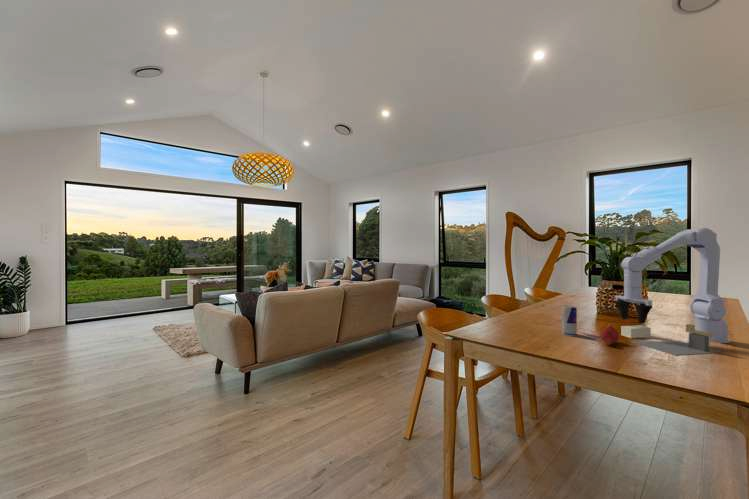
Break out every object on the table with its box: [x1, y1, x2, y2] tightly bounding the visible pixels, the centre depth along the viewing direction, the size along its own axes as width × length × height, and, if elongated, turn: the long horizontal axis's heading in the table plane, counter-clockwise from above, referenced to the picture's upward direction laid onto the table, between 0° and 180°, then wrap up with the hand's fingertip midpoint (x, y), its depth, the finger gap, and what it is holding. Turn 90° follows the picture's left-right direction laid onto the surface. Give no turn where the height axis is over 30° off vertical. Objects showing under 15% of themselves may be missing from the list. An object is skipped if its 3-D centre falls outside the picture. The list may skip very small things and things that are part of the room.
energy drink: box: [561, 304, 578, 337], centre depth 146 cm, size 5×5×12 cm
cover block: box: [620, 324, 652, 339], centre depth 140 cm, size 9×4×5 cm, turn 99°
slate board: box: [629, 332, 721, 357], centre depth 126 cm, size 18×18×6 cm
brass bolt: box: [685, 323, 715, 337], centre depth 122 cm, size 2×8×3 cm, turn 10°
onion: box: [599, 323, 620, 346], centre depth 131 cm, size 6×6×8 cm
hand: (633, 320), depth 140 cm, fingers open, 7 cm apart
